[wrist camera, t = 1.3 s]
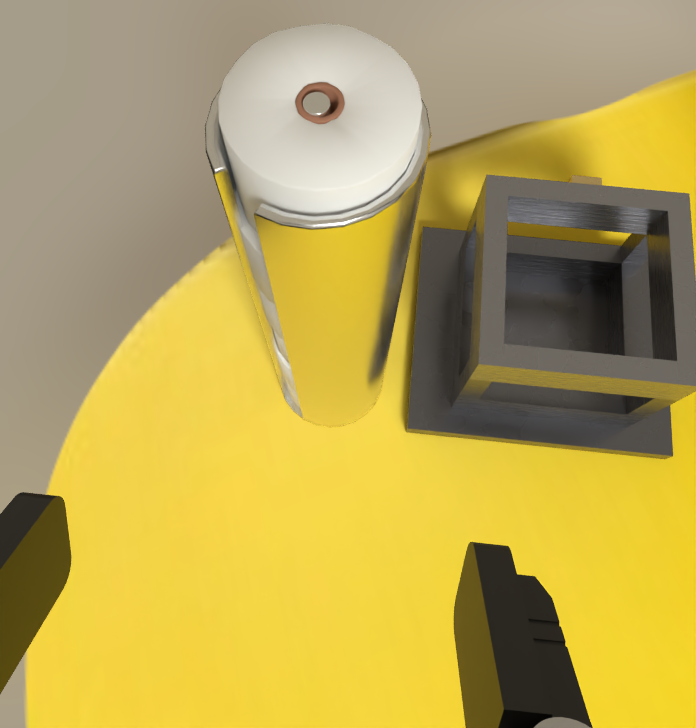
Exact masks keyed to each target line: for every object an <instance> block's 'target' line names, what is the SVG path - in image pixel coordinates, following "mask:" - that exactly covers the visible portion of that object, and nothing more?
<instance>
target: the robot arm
mask: <svg viewBox="0 0 696 728" xmlns="http://www.w3.org/2000/svg"><path fill="white" fill-rule="evenodd" d="M70 567H71V549H70V541H69V533H68V525H67V517H66V508H65V503H64V500H63V498H62V497H60V496H52V495H42V494H33V493H24V492H23V493H19V494H18V495H16V496H15V498H13V500H12V501H11V502H10V503H9V504H8V506H7V507H6V508H5V509H4V510H3V512H2V513H1V514H0V694H1V692H2V690H3V689H4V687H5V685H6V684H7V682H8V680H9V679H10V677H11V675H12V674H13V672H14V670H15V669H16V667H17V665H18V664H19V662H20V660H21V659H22V657H23V655H24V654H25V652H26V650H27V649H28V647H29V645H30V644H31V642H32V640H33V639H34V637H35V635H36V634H37V632H38V630H39V629H40V627H41V625H42V624H43V622H44V620H45V619H46V617H47V615H48V614H49V612H50V610H51V609H52V607H53V605H54V604H55V602H56V600H57V599H58V597H59V595H60V594H61V592H62V590H63V588H64V586H65V584H66V582H67V579H68V576H69V572H70ZM454 635H455V643H456V651H457V659H458V668H459V676H460V684H461V692H462V700H463V709H464V717H465V725H466V728H593V727H592V725H591V722H590V719H589V716H588V713H587V710H586V707H585V703H584V700H583V697H582V694H581V690H580V687H579V684H578V681H577V677H576V674H575V671H574V668H573V665H572V661H571V658H570V655H569V652H568V648H567V647H566V646H565V639H564V635H563V632H562V629H561V627H559V619H558V616H557V613H556V610H555V606H554V603H553V600H552V598H551V596H550V595H549V594H548V593H547V591H546V590H545V589H544V587H543V586H542V585H541V584H540V582H539V581H538V580H537V579H536V577H535V576H526V575H517V573H516V569H515V565H514V561H513V558H512V554H511V550H510V548H509V547H508V546H503V545H493V544H484V543H475V542H470V543H469V545H468V547H467V551H466V556H465V560H464V564H463V569H462V573H461V577H460V582H459V586H458V591H457V595H456V600H455V607H454Z"/></svg>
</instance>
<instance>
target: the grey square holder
mask: <svg viewBox="0 0 696 728" xmlns="http://www.w3.org/2000/svg"><path fill="white" fill-rule="evenodd" d="M507 221H508V222H518V223H529V224H539V225H550V226H560V227H571V228H581V229H592V230H602V231H613V232H623V233H632V234H631V235H630V236H629V237H628V239H627V240H626V241H625V242H624V243H623V245H622V246H618V245H607V244H597V243H587V242H576V241H566V240H555V239H545V238H535V237H524V236H514V235H507ZM695 391H696V277H695V264H694V251H693V237H692V224H691V211H690V197H689V194H687V193H677V192H666V191H655V190H645V189H634V188H623V187H613V186H602V179H601V178H597V177H586V176H575V175H572V176H571V178H570V180H569V181H568V182H559V181H549V180H538V179H527V178H517V177H506V176H495V175H486V178H485V181H484V183H483V186H482V189H481V192H480V195H479V197H478V200H477V203H476V206H475V209H474V211H473V214H472V217H471V220H470V223H469V226H468V228H467V231H462V230H451V229H441V228H430V227H423V229H422V233H421V244H420V257H419V270H418V283H417V296H416V309H415V322H414V335H413V348H412V361H411V374H410V387H409V399H408V412H407V425H406V432H410V433H420V434H429V435H439V436H448V437H458V438H467V439H477V440H487V441H496V442H506V443H515V444H525V445H535V446H544V447H554V448H563V449H573V450H583V451H592V452H602V453H611V454H621V455H630V456H640V457H650V458H659V459H667V458H669V457H672V456H673V447H672V430H671V412H670V405H671V404H673V403H675V402H676V401H678V400H680V399H682V398H684V397H686V396H688V395H690V394H691V393H693V392H695Z"/></svg>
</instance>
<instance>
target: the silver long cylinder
mask: <svg viewBox="0 0 696 728" xmlns="http://www.w3.org/2000/svg"><path fill="white" fill-rule="evenodd" d="M205 137H206V153H207V157H208V160H209V163H210V166H211V169H212V172H213V175H214V179H215V182H216V185H217V188H218V191H219V194H220V197H221V201H222V204H223V206H224V210H225V213H226V216H227V219H228V222H229V226H230V229H231V232H232V235H233V238H234V241H235V245H236V248H237V251H238V254H239V257H240V260H241V263H242V266H243V270H244V273H245V276H246V279H247V282H248V285H249V288H250V292H251V295H252V298H253V301H254V304H255V307H256V310H257V314H258V317H259V320H260V323H261V326H262V329H263V332H264V335H265V339H266V342H267V345H268V348H269V351H270V354H271V357H272V361H273V364H274V367H275V370H276V373H277V376H278V379H279V383H280V386H281V389H282V392H283V394H284V397H285V400H286V402H287V403H288V404H289V406H290V407H291V409H292V410H293V411H294V412H295V413H296V414H297V415H299V416H300V417H301V418H302V419H303V420H306V421H308V422H310V423H312V424H315V425H319V426H325V427H337V426H344V425H347V424H350V423H352V422H355V421H357V420H358V419H360V418H361V417H363V416H364V415H365V414H367V413H368V411H369V410H370V409H371V408H372V407H373V405H374V404H375V403H376V400H377V398H378V396H379V394H380V392H381V387H382V382H383V377H384V372H385V367H386V362H387V357H388V352H389V347H390V342H391V337H392V332H393V327H394V322H395V317H396V312H397V307H398V302H399V297H400V293H401V288H402V283H403V278H404V273H405V268H406V263H407V258H408V253H409V248H410V243H411V238H412V233H413V228H414V223H415V218H416V213H417V208H418V203H419V198H420V193H421V189H422V184H423V179H424V174H425V169H426V164H427V159H428V152H429V145H430V138H431V132H430V126H429V119H428V114H427V109H426V106H425V104H424V102H423V100H422V98H421V95H420V89H419V84H418V82H417V80H416V78H415V76H414V74H413V72H412V70H411V69H410V67H409V65H408V64H407V63H406V62H405V61H404V59H403V58H402V57H401V56H400V55H399V54H398V53H397V52H396V51H395V50H394V49H393V48H392V47H390V46H389V45H387V44H385V43H384V42H382V41H380V40H379V39H377V38H375V37H374V36H372V35H369V34H367V33H365V32H362V31H360V30H358V29H355V28H353V27H351V26H344V25H334V24H315V25H306V26H299V27H294V28H290V29H285V30H281V31H276V32H274V33H272V34H270V35H268V36H266V37H265V38H263V39H261V40H259V41H257V42H255V43H254V44H252V46H251V47H249V49H248V50H247V51H246V52H245V53H244V54H243V55H242V56H241V57H240V58H239V59H238V60H237V61H236V62H235V63H234V65H233V66H232V68H231V69H230V71H229V72H228V74H227V75H226V77H225V78H224V80H223V84H222V87H221V89H220V90H219V92H218V93H217V95H216V96H215V98H214V99H213V101H212V104H211V108H210V111H209V115H208V118H207V121H206V125H205Z"/></svg>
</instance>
